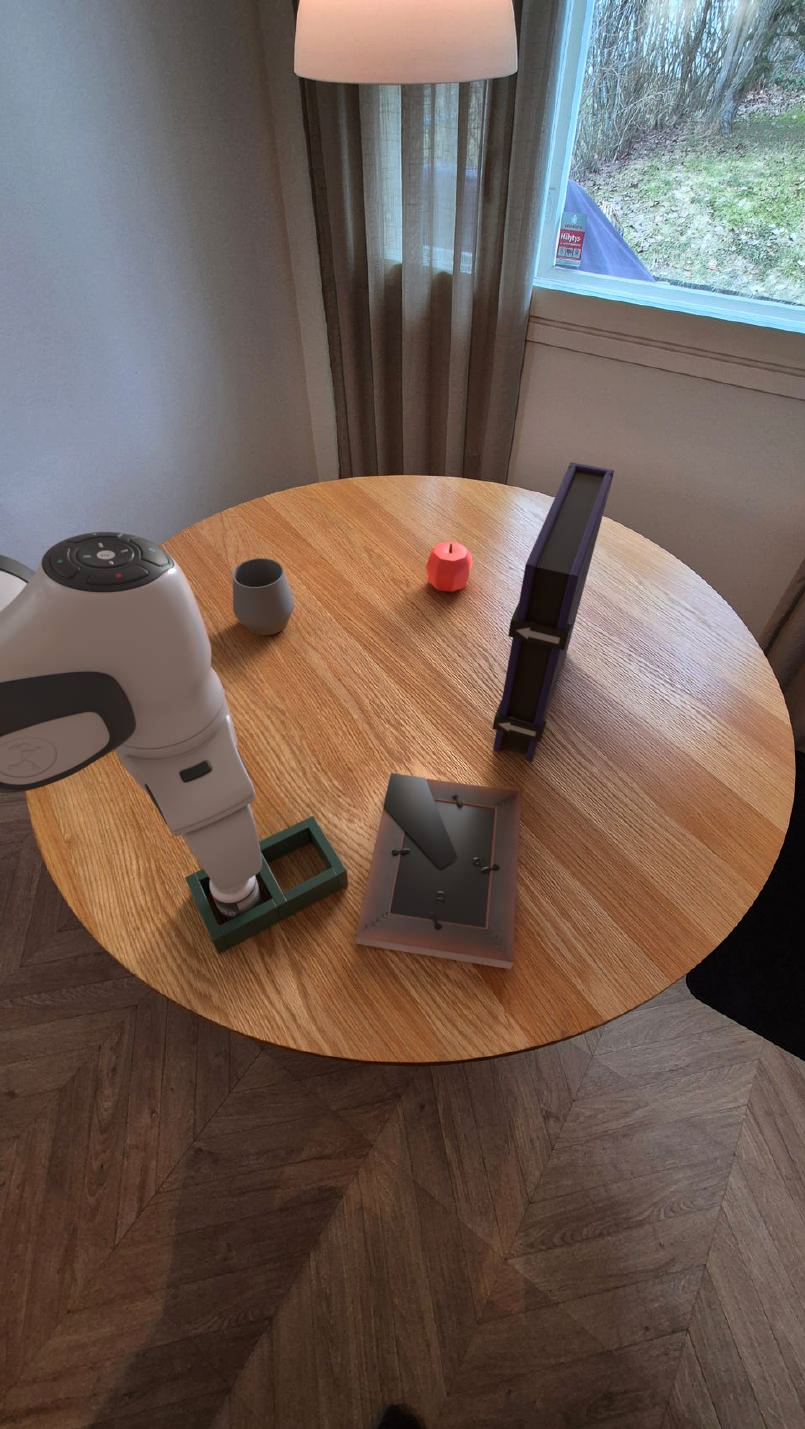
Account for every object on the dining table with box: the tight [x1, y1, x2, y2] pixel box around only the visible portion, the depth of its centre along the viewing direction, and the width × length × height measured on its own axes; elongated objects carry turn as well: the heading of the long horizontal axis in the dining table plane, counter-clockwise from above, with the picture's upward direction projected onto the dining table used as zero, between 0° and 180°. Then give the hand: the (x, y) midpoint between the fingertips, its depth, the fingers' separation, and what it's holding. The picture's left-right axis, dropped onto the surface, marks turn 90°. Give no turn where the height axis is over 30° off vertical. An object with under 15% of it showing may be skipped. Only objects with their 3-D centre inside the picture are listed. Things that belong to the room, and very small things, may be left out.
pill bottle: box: [210, 875, 264, 923], centre depth 71 cm, size 5×5×8 cm
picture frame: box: [354, 772, 522, 970], centre depth 76 cm, size 16×2×22 cm
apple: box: [425, 541, 474, 593], centre depth 111 cm, size 8×8×8 cm
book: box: [492, 462, 615, 763], centre depth 84 cm, size 24×6×30 cm, turn 159°
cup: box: [232, 557, 295, 636], centre depth 102 cm, size 10×9×10 cm
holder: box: [184, 815, 349, 955], centre depth 74 cm, size 16×8×4 cm, turn 121°
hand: (211, 825), depth 61 cm, fingers open, 8 cm apart
